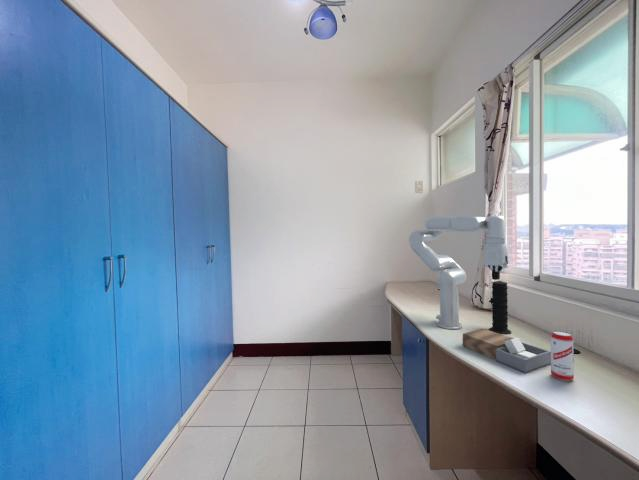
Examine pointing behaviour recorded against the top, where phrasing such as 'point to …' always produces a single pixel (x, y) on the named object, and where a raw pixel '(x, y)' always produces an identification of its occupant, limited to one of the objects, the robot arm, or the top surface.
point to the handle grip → (499, 308)
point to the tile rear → (514, 345)
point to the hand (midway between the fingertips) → (495, 279)
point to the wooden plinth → (484, 342)
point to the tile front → (525, 354)
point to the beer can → (562, 355)
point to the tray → (522, 364)
